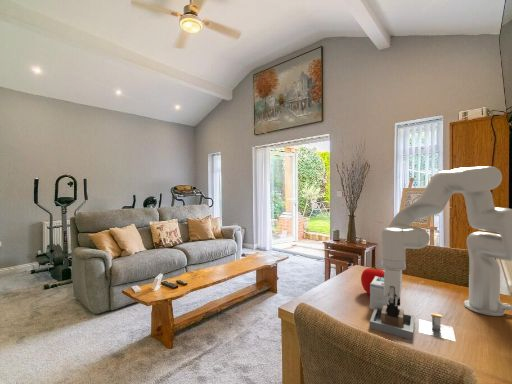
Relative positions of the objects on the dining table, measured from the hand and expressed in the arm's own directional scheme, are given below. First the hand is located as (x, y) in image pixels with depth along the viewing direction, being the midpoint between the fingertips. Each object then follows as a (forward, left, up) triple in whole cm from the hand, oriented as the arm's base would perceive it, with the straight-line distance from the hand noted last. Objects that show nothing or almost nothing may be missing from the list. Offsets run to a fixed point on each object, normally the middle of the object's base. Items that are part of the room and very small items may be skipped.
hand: (394, 310), depth 93 cm
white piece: (-13, -4, -6) cm, 15 cm away
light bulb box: (+6, -16, -7) cm, 18 cm away
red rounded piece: (+10, -26, -6) cm, 29 cm away
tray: (0, +1, -6) cm, 6 cm away
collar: (0, 0, -5) cm, 5 cm away
